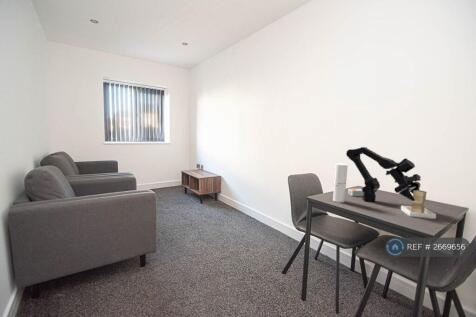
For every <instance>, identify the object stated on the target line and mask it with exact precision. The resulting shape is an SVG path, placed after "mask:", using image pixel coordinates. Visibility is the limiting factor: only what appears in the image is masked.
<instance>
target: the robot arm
mask: <svg viewBox="0 0 476 317" xmlns="http://www.w3.org/2000/svg"><path fill="white" fill-rule="evenodd" d="M345 155H346V157H347V158H348V160H351V161H352V162H353V164H354V165H355V166H356V168H357V170H358V172H359V173H360V175H361V177H362V178H363V180H364V187H362V188H361V189H362V191H363V192H364V193H363V196H362V200H363V201H364V202H369V203H370V202H371V203H375V202H376V198H377V196H376V195H377V194H376V192H377V191H378V190H380V187H381V185H380V182H379V180H378V178H377V177H373V176H372V175H371V173H370V171H369V170H368V168H366V166H365V164H364V162H363V161H362V158H361V155H365V156H367V157H368V158H370V159H372V160H373V161H375V162H377V164H378V165H379V167H381V168H382V169H384V170H386V172H385V176H391V178H393V180H394V183H395V184H396V183H397V184H398V186H396V187H395V188H394V192H395V193H396V194H399V195H401V196H403V197H405V198H407V199H408V200H410V201H411V202H412V201H415V199H414V197H413V192H414V190H420V189H421V185H422V184H421V183H420V181H422V180H421V178H422V176H420V174H417V173H415V174H412V176H408V175H405V174H406V173H408V172H410V171H411V170H412V169H415V167H416V165H415V163H414V162H412V161H411V160H410V159H408V158H404V159H402V160H401V161H400V162H396V161H395V160H394V159H391V158H388V157H384V156H382V155H381V154H378V153H377V152H374V151H373V150H371V149H370V148H368V147H365V146H362V147H361V146H360V147H359V148H353V149H352V148H351V149H348V150H346V153H345ZM404 173H405V174H404Z"/></svg>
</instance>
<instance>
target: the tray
mask: <svg viewBox="0 0 476 317" xmlns="http://www.w3.org/2000/svg"><path fill="white" fill-rule="evenodd" d="M411 209H412V205H411V206H410V205H400V210H401V211H402V213H405V214H406V215H407V216H408V217H410V218H418V219H419V218H420V219H429V220H436V218H437V214H436V213H434V212H432V211H430V210H429V209H427V208H426V207H425V208H424V213H419V212H411Z"/></svg>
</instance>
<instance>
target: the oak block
mask: <svg viewBox="0 0 476 317" xmlns="http://www.w3.org/2000/svg"><path fill="white" fill-rule="evenodd" d="M412 196H413V197H414V199H415V201H412V200H411V202H412V204H411V206H412V209H411V212H419V213H424V208H426V199H427V191H426V190H425V191H424V190H420V189H419V190H414V192H413V193H412Z"/></svg>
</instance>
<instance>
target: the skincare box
mask: <svg viewBox="0 0 476 317" xmlns="http://www.w3.org/2000/svg"><path fill="white" fill-rule="evenodd" d="M363 193H364V192H363V191H362V188H347V195H350V196H351V197H363Z"/></svg>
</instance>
